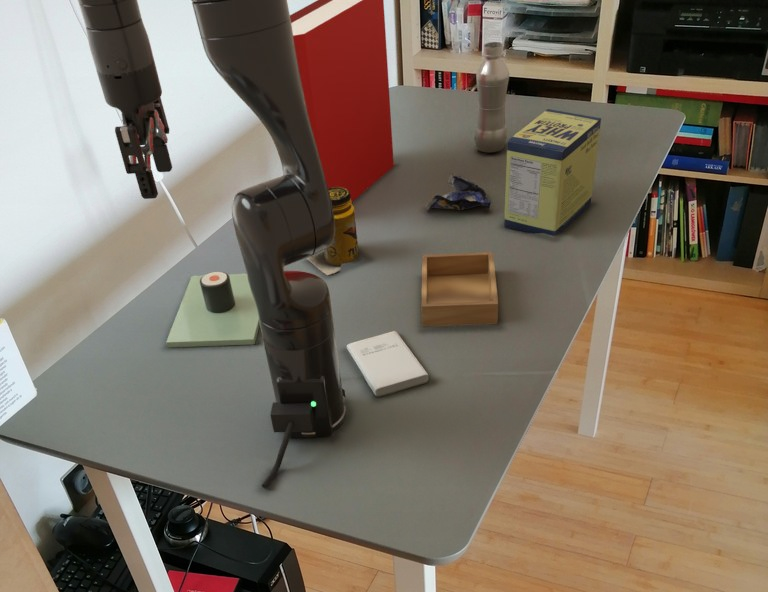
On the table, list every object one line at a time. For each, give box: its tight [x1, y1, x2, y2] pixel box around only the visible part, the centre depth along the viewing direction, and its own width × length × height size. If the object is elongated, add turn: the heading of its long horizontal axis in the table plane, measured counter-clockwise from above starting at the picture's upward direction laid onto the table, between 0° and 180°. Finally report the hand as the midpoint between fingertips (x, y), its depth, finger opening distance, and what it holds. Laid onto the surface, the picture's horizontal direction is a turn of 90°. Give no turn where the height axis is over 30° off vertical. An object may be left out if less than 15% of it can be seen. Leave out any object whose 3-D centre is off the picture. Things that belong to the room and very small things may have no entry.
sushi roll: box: [200, 271, 235, 313], centre depth 133 cm, size 5×5×5 cm
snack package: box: [424, 173, 492, 213], centre depth 153 cm, size 12×6×12 cm
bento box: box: [420, 251, 499, 327], centre depth 130 cm, size 16×12×4 cm
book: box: [290, 0, 395, 202], centre depth 151 cm, size 27×8×32 cm, turn 151°
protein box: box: [503, 108, 602, 237], centre depth 144 cm, size 10×16×16 cm
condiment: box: [305, 187, 359, 276], centre depth 140 cm, size 7×8×12 cm
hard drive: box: [346, 330, 429, 398], centre depth 121 cm, size 2×8×12 cm
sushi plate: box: [165, 273, 260, 348], centre depth 135 cm, size 20×14×1 cm
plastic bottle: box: [474, 41, 510, 153], centre depth 164 cm, size 6×7×20 cm
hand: (158, 184), depth 117 cm, fingers open, 8 cm apart
